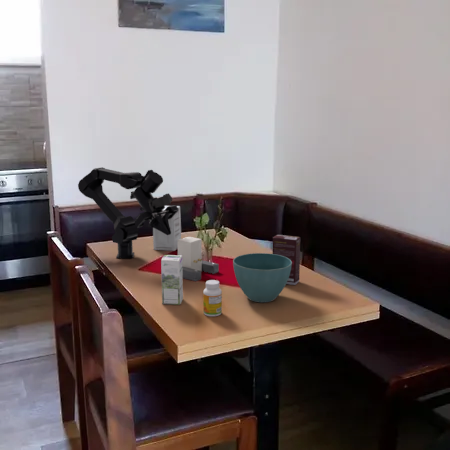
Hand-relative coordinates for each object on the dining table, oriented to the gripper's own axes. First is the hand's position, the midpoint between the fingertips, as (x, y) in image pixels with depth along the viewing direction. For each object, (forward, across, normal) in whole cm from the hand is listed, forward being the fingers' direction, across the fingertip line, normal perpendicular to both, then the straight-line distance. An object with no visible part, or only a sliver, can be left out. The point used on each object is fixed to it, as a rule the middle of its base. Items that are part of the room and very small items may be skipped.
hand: (169, 234), depth 211 cm
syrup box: (+26, -26, -8) cm, 37 cm away
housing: (+18, 0, 0) cm, 18 cm away
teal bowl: (+40, -6, -22) cm, 46 cm away
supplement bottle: (+37, -26, -19) cm, 49 cm away
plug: (+16, 0, +2) cm, 16 cm away
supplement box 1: (-4, +19, +22) cm, 30 cm away
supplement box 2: (+39, +12, -21) cm, 46 cm away
